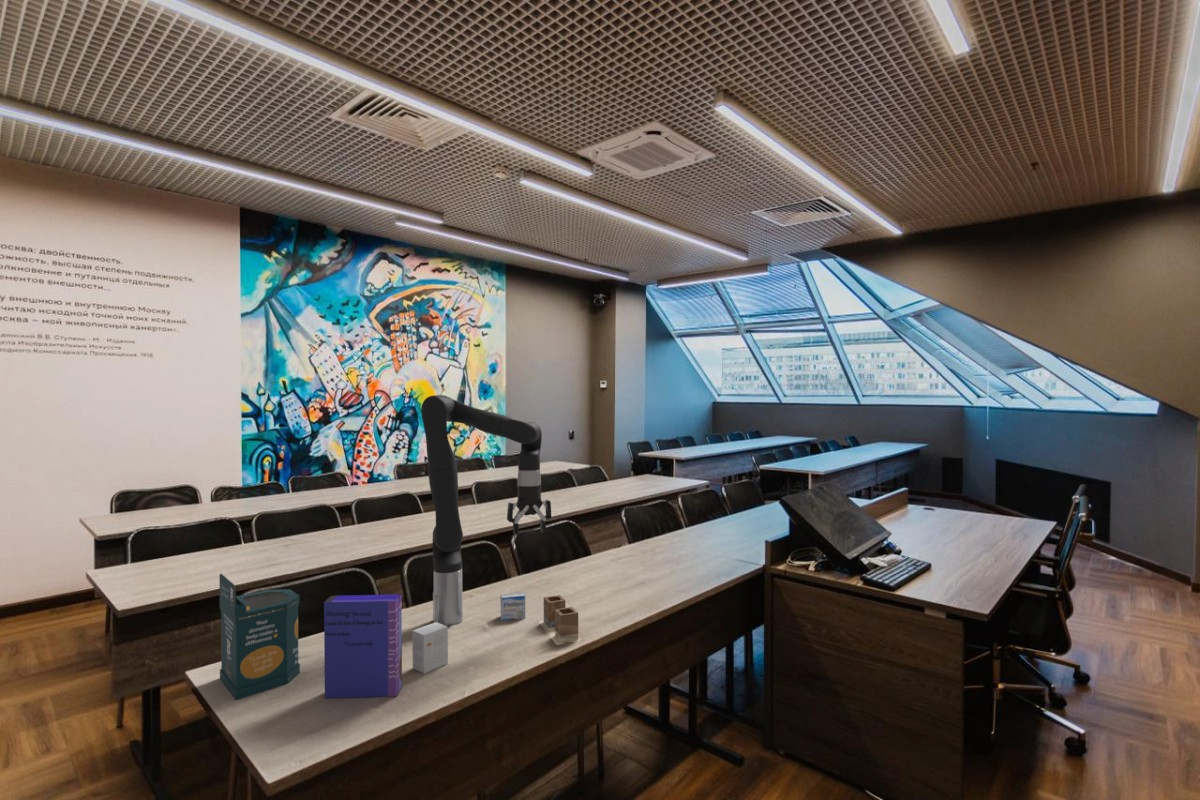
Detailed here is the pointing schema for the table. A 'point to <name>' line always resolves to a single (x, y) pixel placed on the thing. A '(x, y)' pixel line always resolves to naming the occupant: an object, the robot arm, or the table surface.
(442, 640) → the small box
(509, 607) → the medicine box
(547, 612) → the wooden pen holder
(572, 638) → the sleeve brown
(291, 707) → the table surface
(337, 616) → the cereal box
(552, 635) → the pin board
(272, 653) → the donation box
